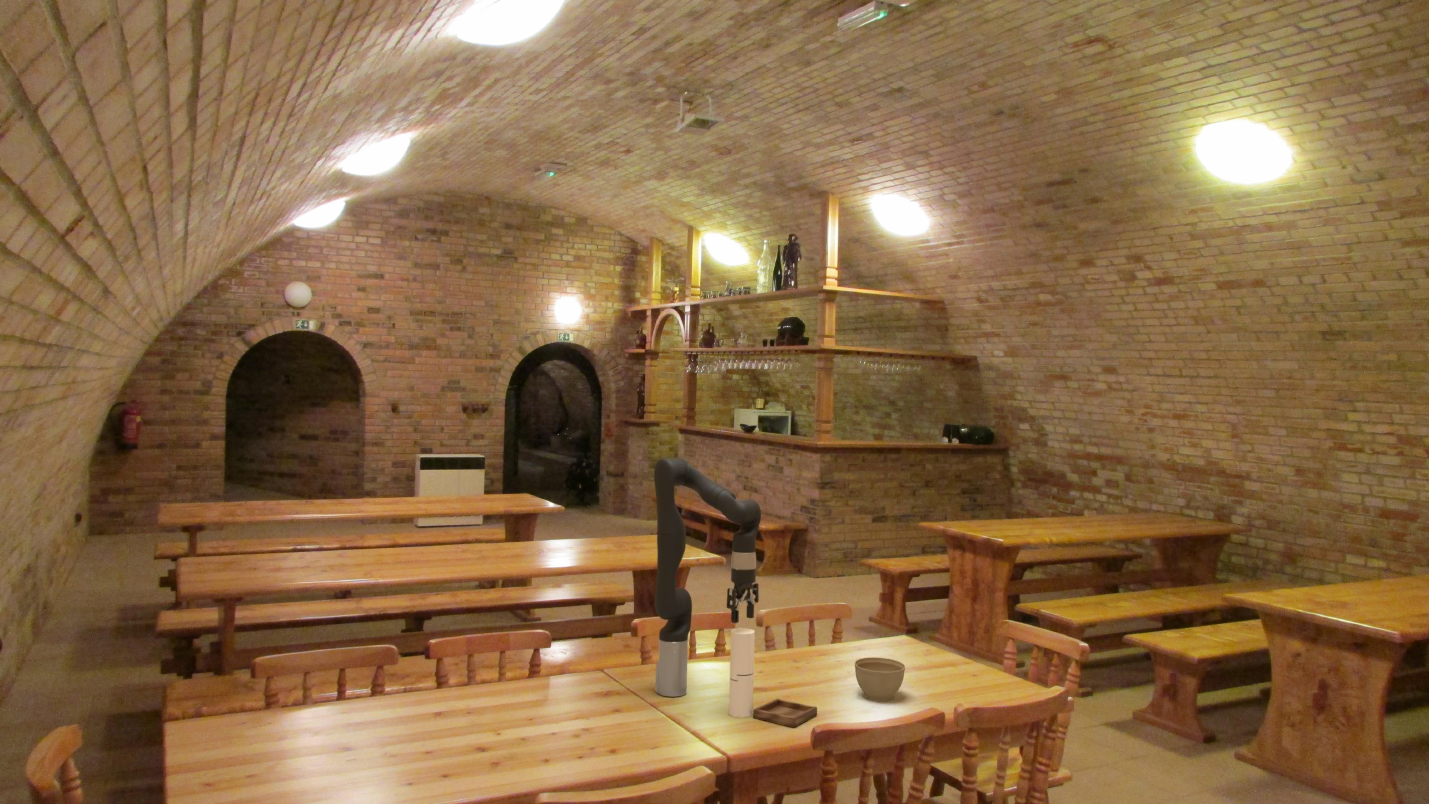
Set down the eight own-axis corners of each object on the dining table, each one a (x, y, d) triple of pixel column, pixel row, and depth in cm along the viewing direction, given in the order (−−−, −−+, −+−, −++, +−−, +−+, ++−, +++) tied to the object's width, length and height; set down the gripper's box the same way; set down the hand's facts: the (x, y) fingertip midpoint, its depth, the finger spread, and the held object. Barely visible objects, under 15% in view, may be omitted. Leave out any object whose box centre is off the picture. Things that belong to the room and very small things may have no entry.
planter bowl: (848, 701, 307) (849, 667, 307) (860, 687, 322) (861, 654, 322) (898, 708, 301) (899, 673, 301) (908, 694, 316) (909, 661, 316)
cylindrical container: (750, 718, 288) (752, 634, 287) (726, 716, 289) (729, 633, 289) (754, 710, 295) (756, 629, 294) (731, 708, 296) (733, 627, 296)
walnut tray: (753, 717, 288) (753, 709, 288) (776, 706, 300) (777, 698, 300) (794, 727, 280) (794, 718, 280) (817, 715, 292) (817, 707, 292)
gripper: (745, 562, 301) (744, 614, 300) (720, 567, 289) (719, 622, 289) (766, 565, 296) (765, 618, 296) (741, 570, 285) (740, 625, 284)
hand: (742, 620), depth 292 cm, fingers open, 8 cm apart
